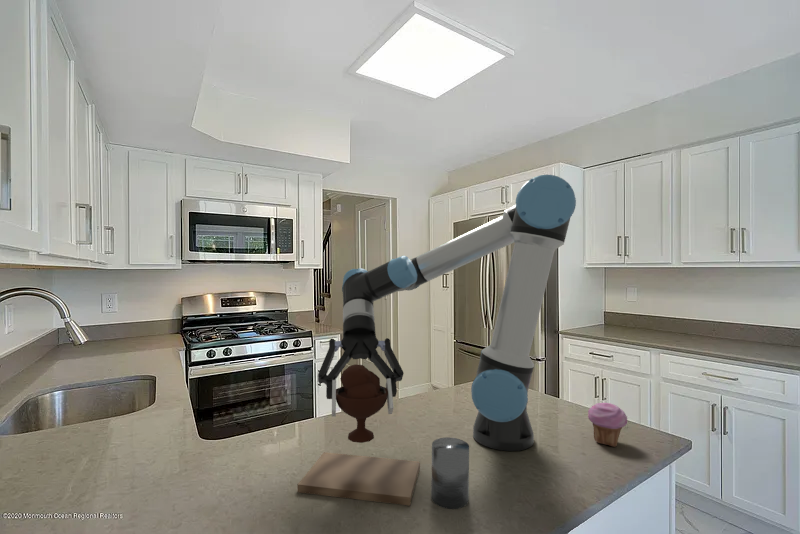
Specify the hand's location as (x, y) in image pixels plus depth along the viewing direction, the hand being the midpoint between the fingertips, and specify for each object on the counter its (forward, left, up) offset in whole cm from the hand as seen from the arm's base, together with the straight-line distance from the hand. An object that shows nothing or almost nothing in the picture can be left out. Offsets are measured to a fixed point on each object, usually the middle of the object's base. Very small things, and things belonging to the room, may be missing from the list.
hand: (362, 412), depth 79 cm
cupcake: (-55, -33, -15) cm, 66 cm away
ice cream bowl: (+1, -3, -6) cm, 7 cm away
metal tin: (-17, 0, -15) cm, 23 cm away
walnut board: (+1, -3, -15) cm, 15 cm away
